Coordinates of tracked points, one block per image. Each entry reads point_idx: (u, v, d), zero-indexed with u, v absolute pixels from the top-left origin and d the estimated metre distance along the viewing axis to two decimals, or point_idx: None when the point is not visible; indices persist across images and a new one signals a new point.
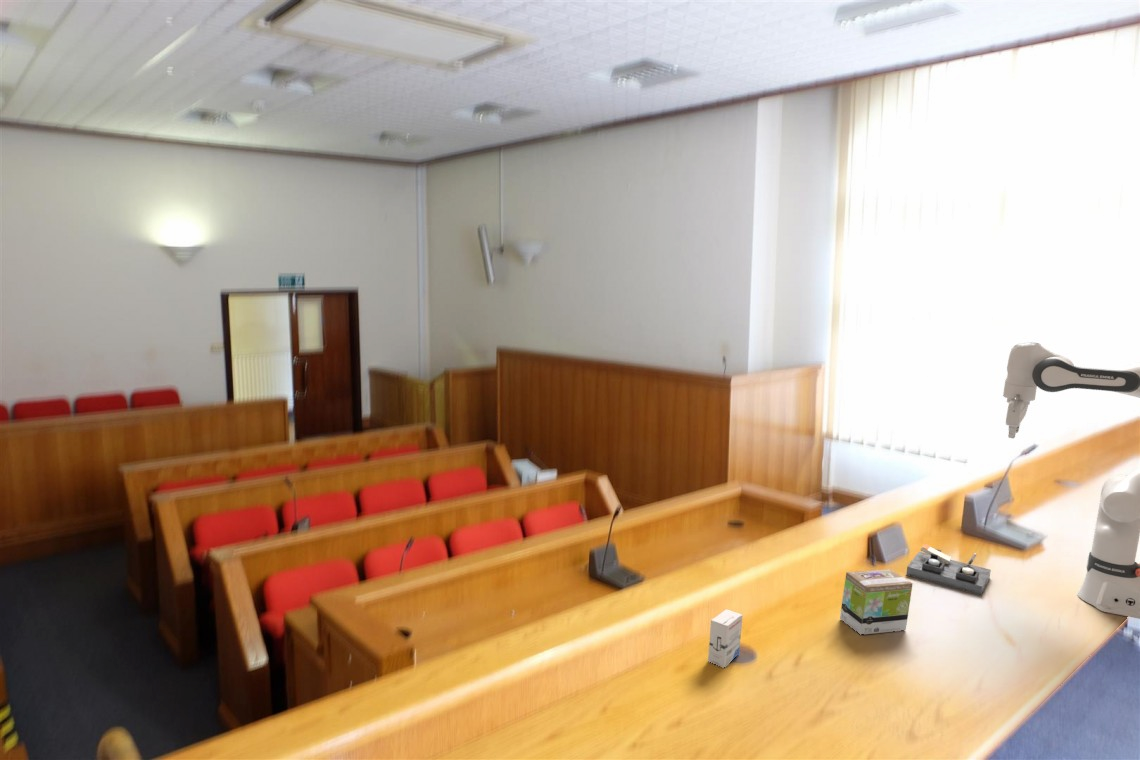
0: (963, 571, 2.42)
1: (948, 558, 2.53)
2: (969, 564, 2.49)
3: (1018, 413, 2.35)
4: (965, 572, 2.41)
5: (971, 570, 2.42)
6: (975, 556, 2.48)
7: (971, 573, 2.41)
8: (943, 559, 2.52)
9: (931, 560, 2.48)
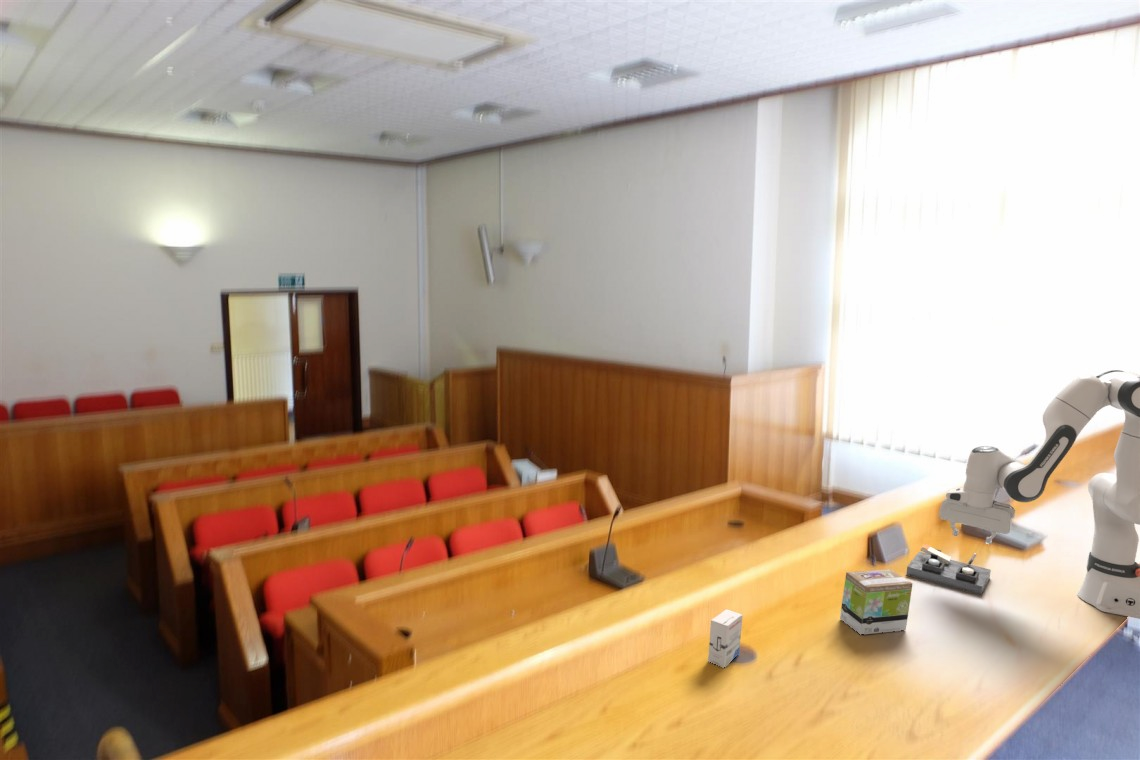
0: (963, 571, 2.42)
1: (948, 558, 2.53)
2: (969, 564, 2.49)
3: (1011, 519, 2.34)
4: (965, 572, 2.41)
5: (971, 570, 2.42)
6: (975, 556, 2.48)
7: (971, 573, 2.41)
8: (943, 559, 2.52)
9: (931, 560, 2.48)
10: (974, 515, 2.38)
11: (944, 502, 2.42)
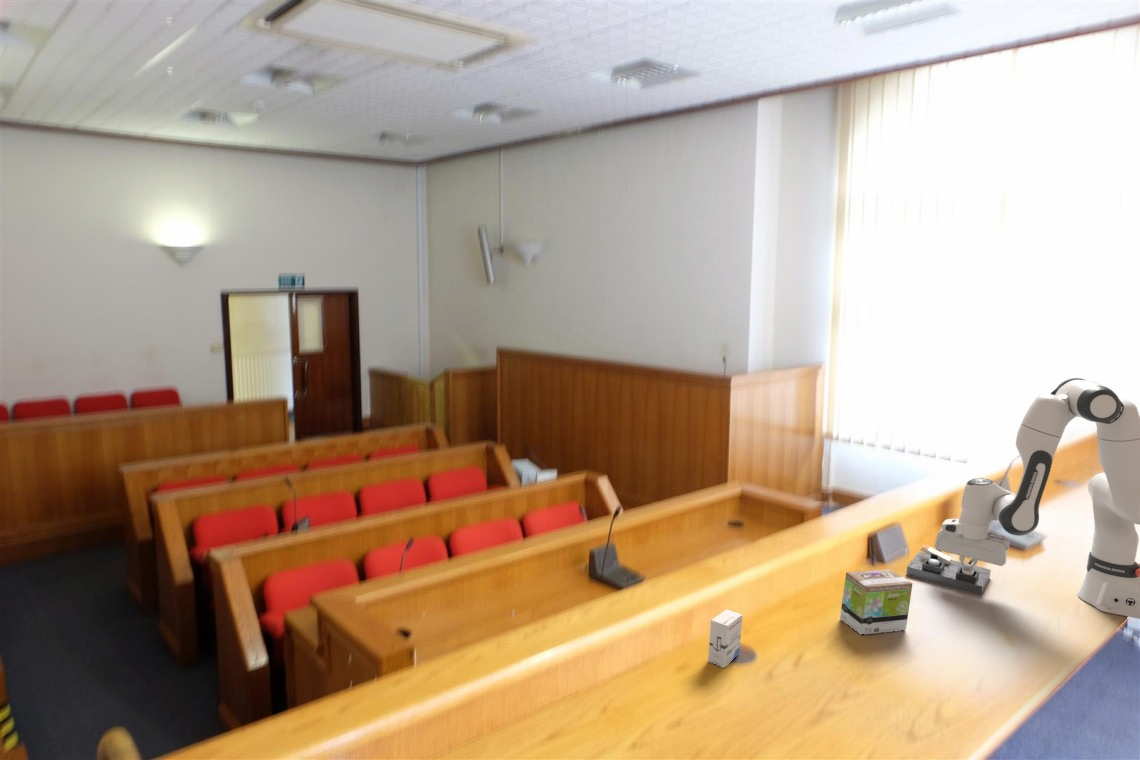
0: (963, 572, 2.42)
1: (948, 558, 2.53)
2: None
3: (1006, 550, 2.36)
4: (965, 573, 2.41)
5: None
6: None
7: (971, 574, 2.41)
8: (943, 559, 2.52)
9: (931, 560, 2.48)
10: (969, 547, 2.39)
11: (940, 533, 2.43)
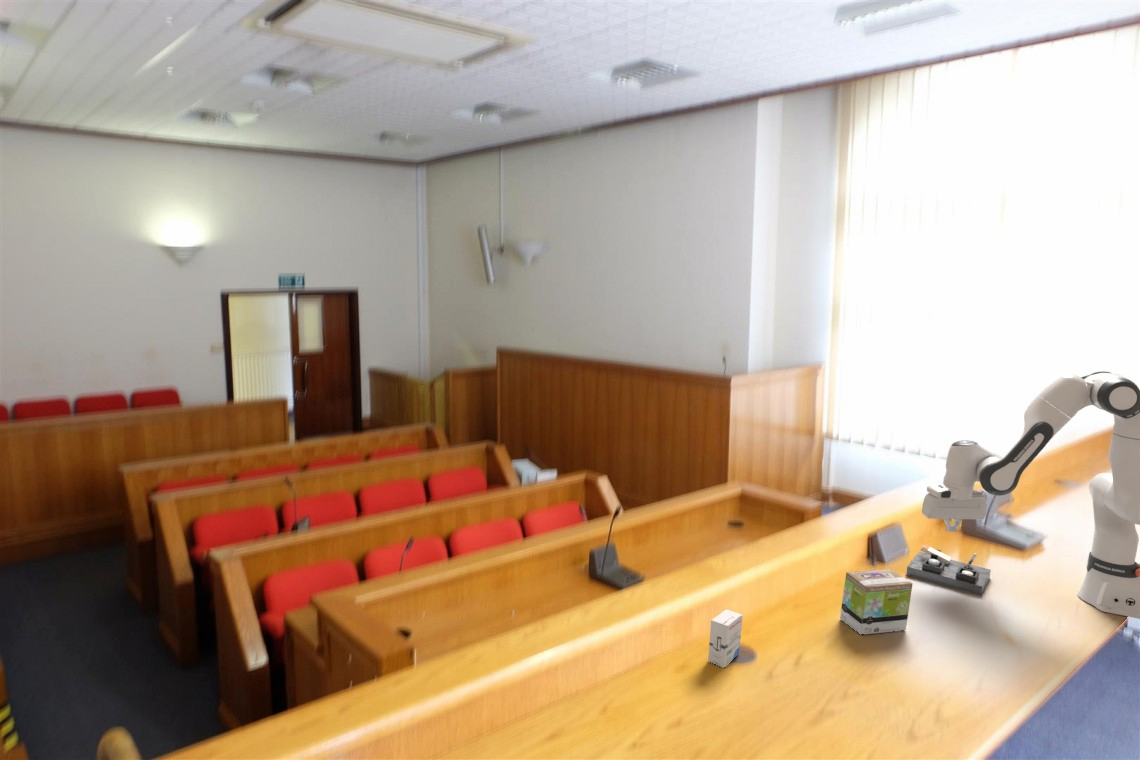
0: None
1: (948, 558, 2.53)
2: (969, 564, 2.49)
3: None
4: None
5: (971, 573, 2.42)
6: (975, 556, 2.48)
7: None
8: (943, 559, 2.52)
9: (931, 560, 2.48)
10: (958, 508, 2.43)
11: (934, 502, 2.41)
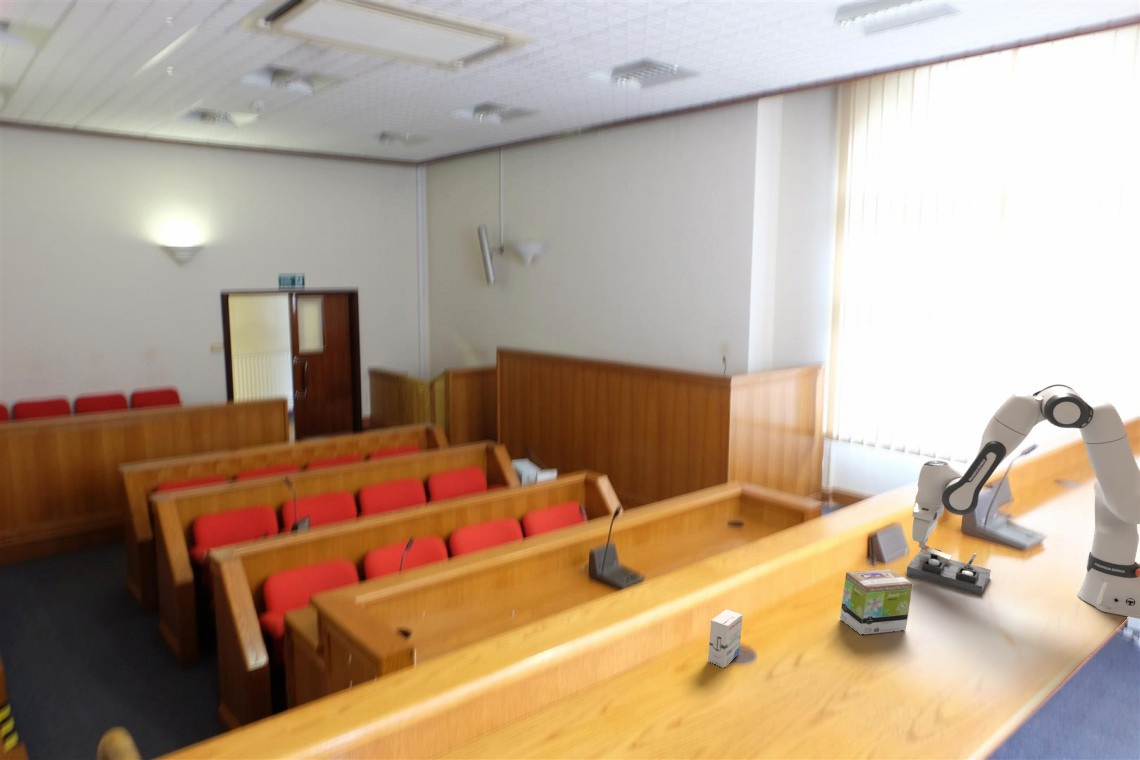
0: None
1: (948, 557, 2.53)
2: (969, 564, 2.49)
3: None
4: None
5: (971, 573, 2.42)
6: (975, 556, 2.48)
7: None
8: (943, 558, 2.52)
9: (931, 560, 2.48)
10: (931, 524, 2.55)
11: (929, 526, 2.47)
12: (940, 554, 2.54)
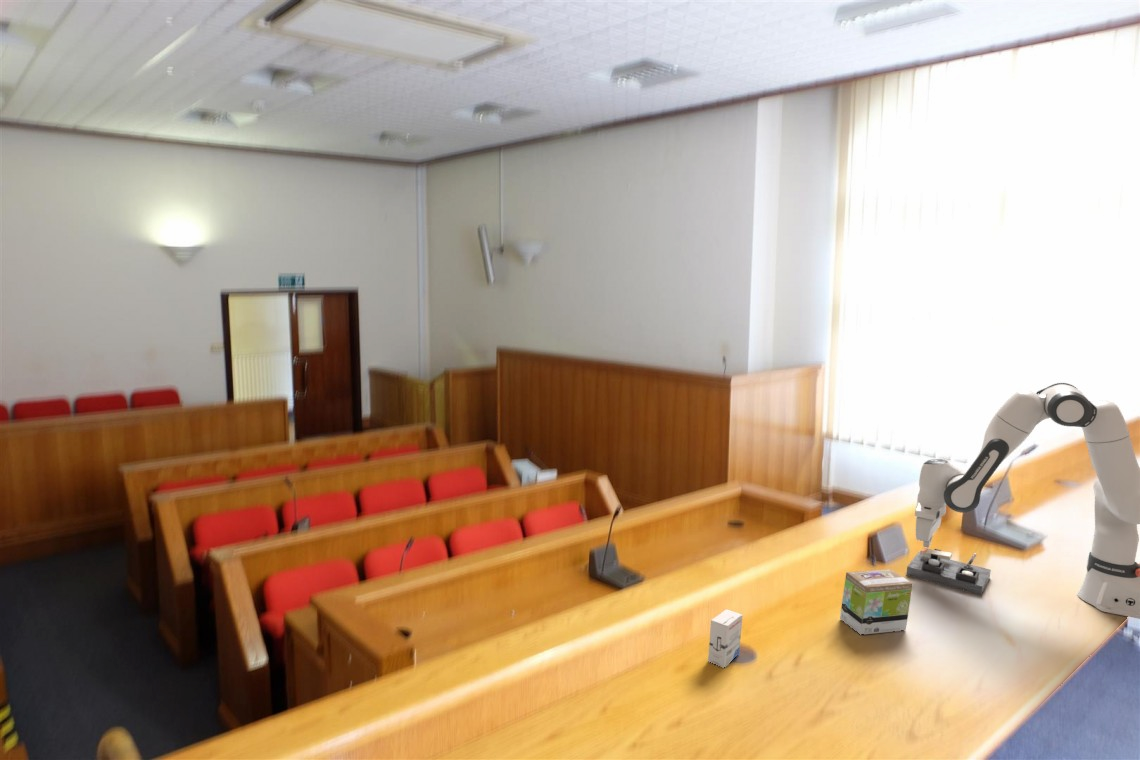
0: None
1: (948, 554, 2.53)
2: (969, 564, 2.49)
3: None
4: None
5: (971, 573, 2.42)
6: (975, 556, 2.48)
7: None
8: (943, 556, 2.52)
9: (931, 560, 2.48)
10: (935, 523, 2.54)
11: (932, 525, 2.47)
12: (940, 553, 2.54)
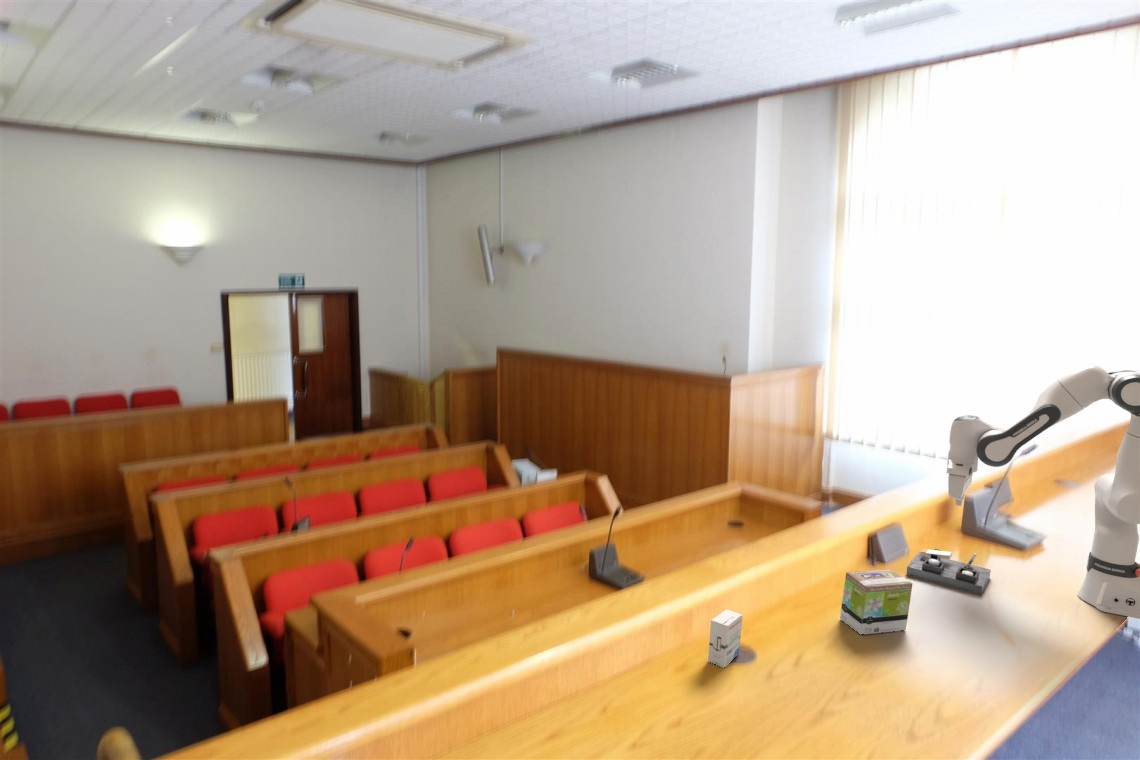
0: None
1: (948, 553, 2.53)
2: (969, 564, 2.49)
3: None
4: None
5: (971, 573, 2.42)
6: (975, 556, 2.48)
7: None
8: (943, 556, 2.52)
9: (931, 560, 2.48)
10: (966, 481, 2.51)
11: (965, 481, 2.44)
12: (940, 553, 2.54)
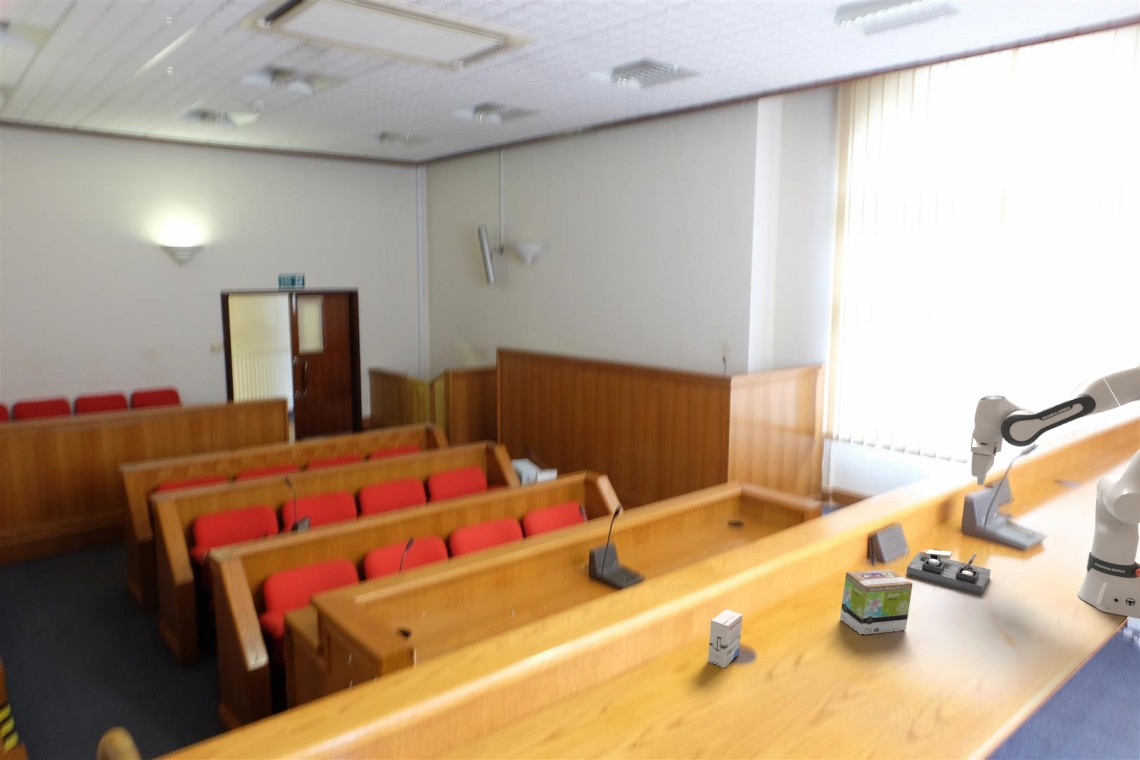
0: None
1: (948, 553, 2.53)
2: (969, 564, 2.49)
3: None
4: None
5: (971, 573, 2.42)
6: (975, 556, 2.48)
7: None
8: (943, 556, 2.52)
9: (931, 560, 2.48)
10: (989, 461, 2.51)
11: (989, 460, 2.43)
12: (940, 553, 2.54)
